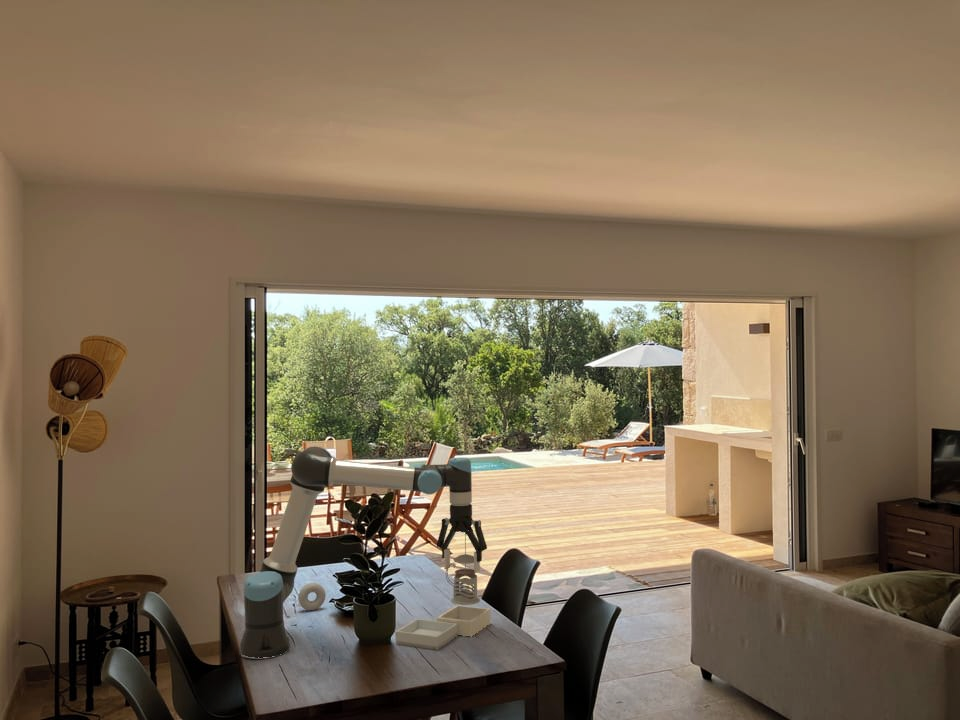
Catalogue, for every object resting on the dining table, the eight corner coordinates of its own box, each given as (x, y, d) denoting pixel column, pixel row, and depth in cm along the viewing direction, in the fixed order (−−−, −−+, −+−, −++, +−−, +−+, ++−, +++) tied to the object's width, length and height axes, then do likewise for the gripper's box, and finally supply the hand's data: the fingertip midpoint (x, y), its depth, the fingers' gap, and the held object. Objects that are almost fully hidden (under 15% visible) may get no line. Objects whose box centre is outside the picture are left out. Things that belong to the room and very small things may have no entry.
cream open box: (471, 637, 246) (471, 621, 246) (437, 632, 252) (436, 617, 252) (490, 623, 259) (490, 608, 259) (457, 619, 265) (457, 605, 265)
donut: (324, 607, 284) (324, 580, 284) (326, 609, 281) (326, 582, 281) (297, 611, 280) (297, 583, 280) (299, 613, 277) (298, 586, 277)
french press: (476, 605, 250) (476, 529, 250) (442, 603, 252) (442, 528, 252) (482, 597, 259) (482, 523, 259) (449, 595, 262) (449, 522, 262)
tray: (437, 650, 235) (437, 637, 235) (395, 643, 242) (395, 631, 242) (457, 636, 248) (457, 623, 248) (417, 630, 254) (417, 618, 254)
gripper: (496, 503, 255) (497, 570, 254) (436, 500, 265) (437, 564, 264) (486, 507, 248) (488, 575, 247) (425, 503, 258) (426, 569, 257)
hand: (462, 569), depth 256 cm, fingers closed on french press, 10 cm apart
